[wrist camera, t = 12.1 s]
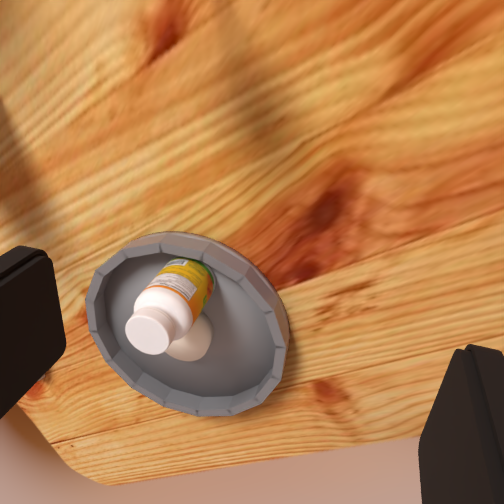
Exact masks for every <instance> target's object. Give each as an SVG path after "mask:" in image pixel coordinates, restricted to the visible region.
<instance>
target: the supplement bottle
mask: <svg viewBox="0 0 504 504" xmlns="http://www.w3.org/2000/svg"><path fill="white" fill-rule="evenodd" d="M214 289H215V276H214V273H213V271H212V270H211V268H210V267H209V266H208V265H207V264H206V263H204V262H203V261H201V260H196V259H192V258H187V257H182V256H177V257H175V258H173V259H172V260H170V261H169V262H168V263H167V264H166V266H165V267H164V268H163V269H162V270H161V271H160V272H159V273H158V275H157V276H156V277H155V278H154V279H153V280H152V281H151V282H150V284H149V285H148V286H147V287H146V288H145V289H144V290H143V291H142V293H141V294H140V295H139V296H138V298H137V299H136V302H135V304H134V314H133V315H132V316H131V318H130V319H129V320H128V321H127V323H126V327H125V332H126V336H127V338H128V340H129V341H130V343H131V344H132V345H133V346H134V347H135V348H137V349H138V350H140V351H141V352H144V353H146V354H151V355H157V354H161V353H163V352H165V351H166V350H167V349H168V347H169V346H170V344H171V343H172V341H176V340H179V339H181V338H182V337H184V336H185V335H186V334H187V333H188V331H189V330H190V329H191V327H192V325H193V324H194V322H195V321H196V319H197V317H198V316H199V314H200V313H201V311H202V309H203V308H204V306H205V305H206V303H207V301H208V300H209V298H210V297H211V295H212V293H213V291H214Z"/></svg>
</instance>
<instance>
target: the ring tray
mask: <svg viewBox="0 0 504 504" xmlns="http://www.w3.org/2000/svg"><path fill="white" fill-rule="evenodd" d="M177 256H182V257H187V258H192V259H196V260H201V261H203V262H204V263H206V264H207V265H208V266H209V267H210V268H211V270H212V271H213V273H214V276H215V289H214V291H213V293H212V295H211V297H210V298H209V300H208V301H207V303H206V305H205V306H204V308H203V309H202V311H201V313H200V314H199V316H198V317H197V319H196V321H195V322H194V324H193V325H192V327H191V329H190V330H189V331H188V333H187V334H186V335H185V336H184V337H182V338H181V339H179V340H176V341H172V343H171V344H170V346H169V347H168V349H167V350H166V351H165V352H163V353H161V354H157V355H151V354H146V353H144V352H141V351H140V350H138V349H137V348H135V347H134V346H133V345H132V344H131V343H130V341H129V340H128V338H127V336H126V332H125V327H126V323H127V321H128V320H129V319H130V318H131V316H132V315H133V314H134V304H135V302H136V299H137V298H138V296H139V295H140V294H141V293H142V291H143V290H144V289H145V288H146V287H147V286H148V285H149V284H150V282H151V281H152V280H153V279H154V278H155V277H156V276H157V275H158V273H159V272H160V271H161V270H162V269H163V268H164V267H165V266H166V264H167V263H168V262H169V261H170V260H172V259H173V258H175V257H177ZM85 302H86V310H87V318H88V326H89V332H90V333H91V335H92V337H93V339H94V341H95V343H96V345H97V347H98V348H99V350H100V352H101V354H102V356H103V358H104V360H105V361H106V363H107V364H108V365H109V366H110V367H111V368H112V369H113V370H114V371H115V372H116V373H117V374H118V375H119V376H120V377H121V378H122V379H123V380H124V381H125V382H126V383H127V384H128V385H129V386H130V387H131V388H133V389H135V390H136V391H138V392H140V393H141V394H143V395H145V396H146V397H148V398H150V399H151V400H153V401H155V402H157V403H158V404H160V405H162V406H163V407H167V408H170V409H174V410H177V411H181V412H184V413H188V414H191V415H195V416H233V415H235V414H238V413H240V412H243V411H245V410H248V409H250V408H252V407H255V406H257V405H260V404H262V402H263V401H264V400H265V399H266V398H267V396H268V395H269V394H270V393H271V392H272V390H273V389H274V388H275V387H276V386H277V384H278V383H279V382H280V381H281V378H282V375H283V371H284V368H285V362H286V356H287V351H288V347H289V338H290V331H289V322H288V318H287V314H286V310H285V308H284V305H283V303H282V300H281V298H280V297H279V295H278V293H277V291H276V290H275V288H274V287H273V285H272V284H271V282H270V281H269V280H268V278H267V277H266V276H265V275H264V274H263V273H262V272H261V271H260V270H259V269H258V267H257V266H255V265H254V264H253V263H252V262H251V261H249V260H248V259H247V258H246V257H245V256H243V255H242V254H240V253H239V252H237V251H236V250H234V249H232V248H230V247H229V246H227V245H225V244H223V243H221V242H219V241H216V240H213V239H211V238H208V237H205V236H201V235H197V234H194V233H187V232H178V231H166V232H158V233H152V234H149V235H145V236H142V237H140V238H137V239H135V240H133V241H130V242H129V243H128V244H127V245H125V246H124V247H123V248H122V249H120V250H119V251H118V252H117V253H116V254H114V255H113V256H112V257H111V258H109V259H108V260H107V261H106V262H104V263H103V264H102V265H101V266H100V267H99V268H98V269H96V270H95V273H94V276H93V279H92V281H91V284H90V287H89V290H88V292H87V295H86V298H85Z"/></svg>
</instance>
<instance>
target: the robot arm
mask: <svg viewBox="0 0 504 504" xmlns="http://www.w3.org/2000/svg"><path fill="white" fill-rule="evenodd" d="M65 348H66V337H65V332H64V326H63V320H62V314H61V309H60V303H59V297H58V291H57V286H56V280H55V274H54V268H53V263H52V260H51V259H50V258H48V255H47V253H46V252H45V251H43V250H40V249H36V248H31V247H27V246H17V247H15V248H13V249H11V250H10V251H8V252H6V253H5V254H3V255H1V256H0V419H1V418H2V417H3V416H4V415H5V414H6V413H7V412H8V411H9V410H10V409H11V408H12V407H13V406H14V405H15V404H16V403H17V402H18V401H19V400H20V399H21V397H22V396H23V395H24V394H25V393H26V392H27V391H28V390H29V389H30V388H31V387H32V386H33V385H34V384H35V383H36V382H37V381H38V380H39V379H40V378H41V377H42V376H43V375H44V374H45V373H46V372H47V371H48V370H49V369H50V368H51V367H52V366H53V365H54V364H55V363H56V362H57V360H58V359H59V358H60V357H61V356H62V355H63V353H64V351H65ZM418 456H419V469H420V482H421V495H422V504H504V356H503V354H502V352H501V351H499V350H495V349H491V348H486V347H482V346H477V345H473V344H469V345H467V346H466V348H465V350H462V349H456V350H455V352H454V354H453V356H452V359H451V361H450V364H449V366H448V369H447V371H446V374H445V376H444V379H443V381H442V384H441V386H440V389H439V391H438V394H437V396H436V399H435V401H434V404H433V406H432V409H431V411H430V414H429V417H428V419H427V422H426V424H425V427H424V429H423V432H422V434H421V437H420V441H419V449H418Z"/></svg>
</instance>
